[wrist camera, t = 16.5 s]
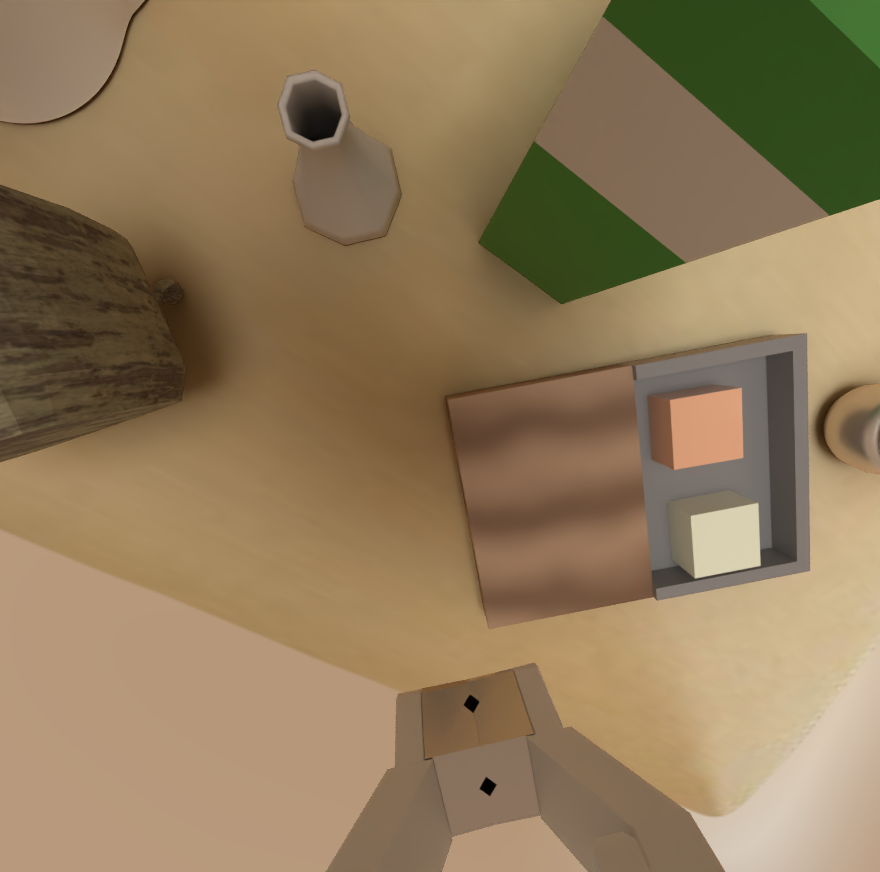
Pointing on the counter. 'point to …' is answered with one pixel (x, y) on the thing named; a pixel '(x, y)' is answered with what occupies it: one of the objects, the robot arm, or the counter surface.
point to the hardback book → (695, 138)
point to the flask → (337, 163)
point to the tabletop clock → (76, 328)
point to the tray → (754, 476)
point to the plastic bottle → (856, 428)
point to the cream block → (714, 533)
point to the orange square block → (696, 426)
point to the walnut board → (554, 493)
